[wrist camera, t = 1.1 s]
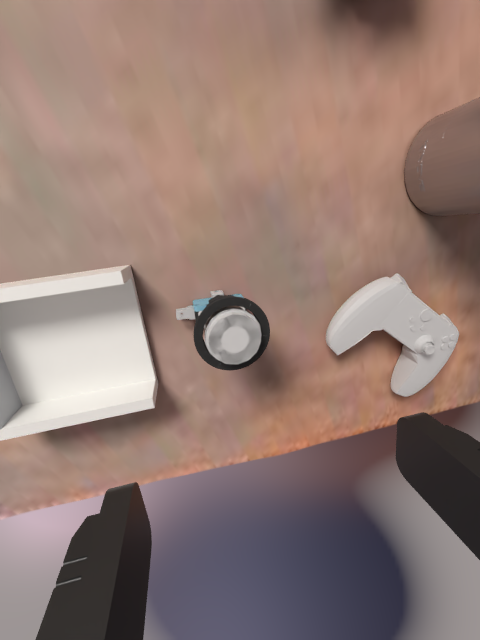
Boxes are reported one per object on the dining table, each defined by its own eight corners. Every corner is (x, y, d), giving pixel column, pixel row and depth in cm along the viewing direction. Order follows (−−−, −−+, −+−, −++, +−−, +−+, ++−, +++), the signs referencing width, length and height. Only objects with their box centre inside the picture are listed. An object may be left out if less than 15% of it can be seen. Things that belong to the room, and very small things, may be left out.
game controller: (320, 349, 29) (397, 267, 26) (308, 328, 33) (373, 255, 30) (414, 408, 34) (489, 345, 30) (393, 384, 38) (458, 325, 34)
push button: (180, 336, 29) (180, 386, 20) (172, 283, 28) (167, 309, 18) (246, 327, 30) (276, 369, 21) (241, 274, 29) (271, 295, 19)
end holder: (130, 264, 27) (120, 270, 22) (158, 383, 30) (154, 407, 26) (-31, 288, 25) (-74, 299, 21) (20, 411, 28) (-9, 442, 24)
